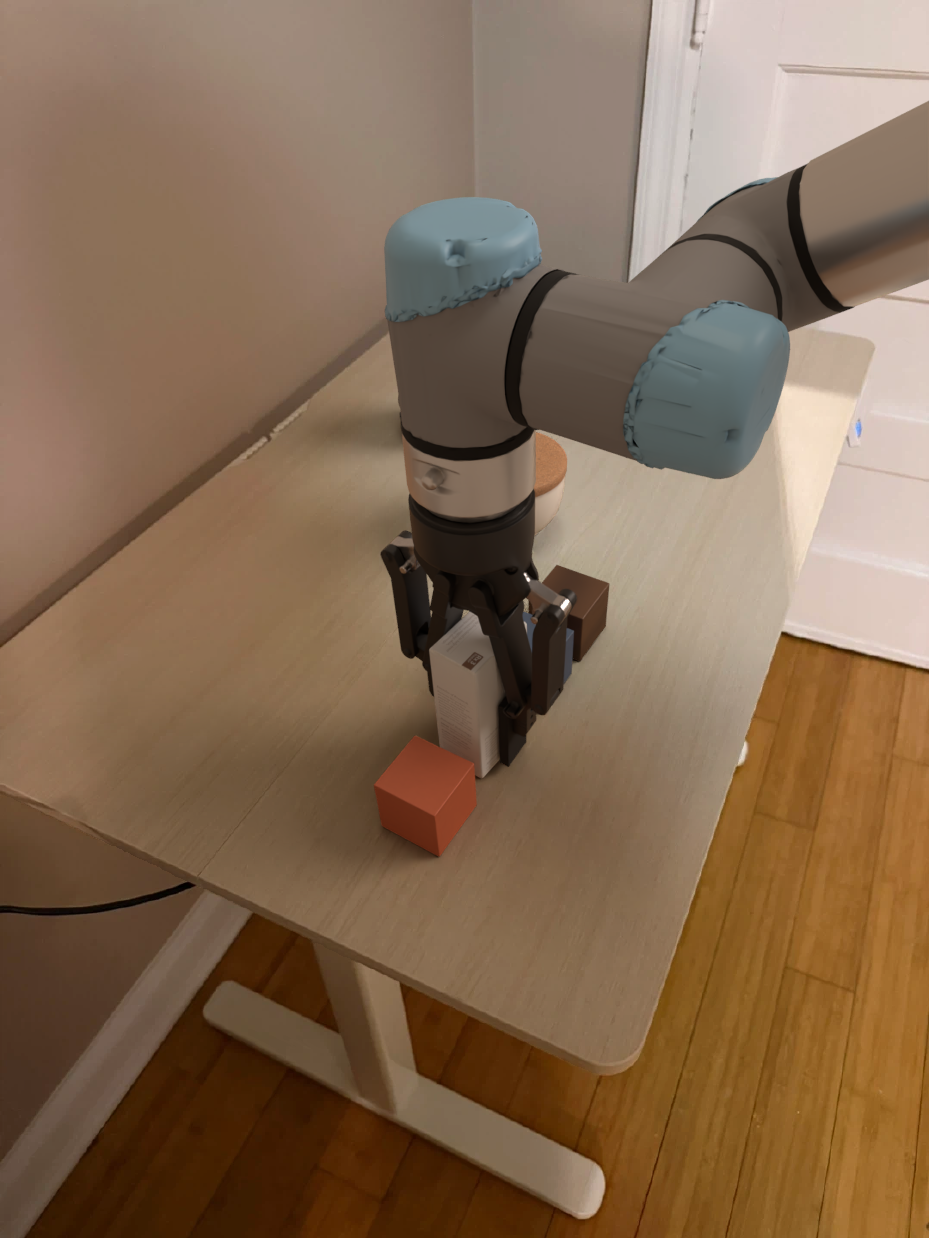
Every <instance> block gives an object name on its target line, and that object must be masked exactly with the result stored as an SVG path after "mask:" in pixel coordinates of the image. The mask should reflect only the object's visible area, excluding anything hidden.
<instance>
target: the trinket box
mask: <svg viewBox="0 0 929 1238" xmlns="http://www.w3.org/2000/svg"><path fill="white" fill-rule="evenodd" d="M567 471H568V457H567V453H566V451H565V448H563V447H562V446H561V444H560V443H559V442H558V441H557V440H555V439H553V438H552V437H550V436H548V435H545V434H544V433H540V432H537V431H536V482H535V485H534V490H535V536H536V535H537V534H539V532H541V531H542V530H544V529H545V528H547V526H548V525H549V524H550V523H551V522H552V521H553V519H554V518H555V517H556V515H557V513H558V511H559V509H560V507H561V503H562V500H563V497H564V492H565V487H566V486H565V485H566V474H567Z"/></svg>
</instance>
